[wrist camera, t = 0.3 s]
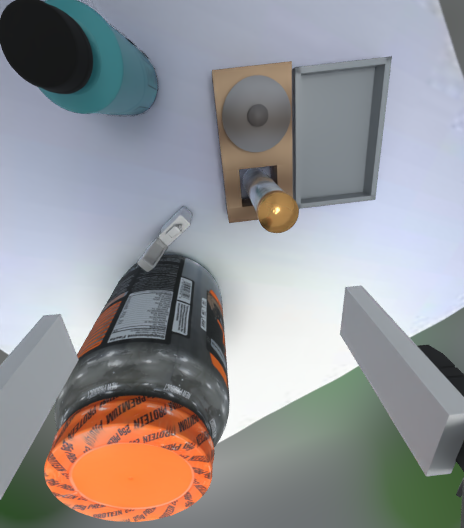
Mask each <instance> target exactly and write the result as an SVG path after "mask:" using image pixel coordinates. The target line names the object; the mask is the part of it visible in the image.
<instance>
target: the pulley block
mask: <svg viewBox="0 0 464 528" xmlns="http://www.w3.org/2000/svg"><path fill="white" fill-rule="evenodd" d="M212 80H213V89H214V98H215V107H216V116H217V125H218V134H219V142H220V151H221V160H222V169H223V178H224V187H225V196H226V205H227V214H228V220H229V223H233V222H242V221H250V220H259V219H258V217H257V212H256V210H255V208H254V206H253V204H252V202H251V200H250V198H245V199H241V187H240V176H239V170H240V169H249V168H257V167H266V166H271V179H272V180H273V181H274V182H275V183H276V184H277V185H278V186H279V187H280V188H281V189H282V190H283V191H284V192H286V193H288V194H289V195H290V196H291V197H292V198H293V162H292V61H290V62H281V63H272V64H263V65H254V66H245V67H236V68H228V69H219V70H212Z"/></svg>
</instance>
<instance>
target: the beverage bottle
mask: <svg viewBox="0 0 464 528" xmlns="http://www.w3.org/2000/svg"><path fill="white" fill-rule="evenodd" d="M110 25H111V24H110ZM110 25H109V24H108V23H107V22H106V21H105V20H104V19H103V18H102V17H101V16H100V15H99V14H98V13H97V12H96V11H95V10H94V9H92V8H91V7H89V6H88V5H86V4H84V3H82V2H79V1H77V0H46V1H44V2H43V1H41V0H15V1H13V2H12V3H10V4H9V5H8V6H7V7H6V8H5V10H4V11H3V13H2V15H1V18H0V44H1V47H2V50H3V53H4V55H5V57H6V59H7V61H8V62H9V64H10V65H11V66H12V68H13V69H14V70H15V71H16V72H17V73H18V74H19V75H20V76H21V77H22V78H23V79H25V80H26V81H28V82H29V83H31V84H33V85H35V86H37V87H38V88H39V89H40V90H41V91H42V92H43V93H44V95H45V96H46V97H48V98H49V99H50V100H51V101H52V102H54V103H55V104H56V105H58V106H60V107H61V108H63V109H66V110H68V111H71V112H75V113H81V114H91V113H96V114H97V113H101V114H111V115H114V116H115V115H118V116H119V115H122V116H123V115H135V114H138V115H139V114H140V113H141V114H144V113H142V112H144V111H146V110H147V109H150V108H149V107H150V106H151V105H152V103H153V102H154V100H155V97H156V93H157V91H158V90H157V81H158V80H157V78H156V77H157V76H156V74H155V71H154V69H155V68H154V69H153V66H152V65H151V63H150V61H149V60H148V59H149V58H148V57H147V56H146V55H145V54H144V53H143V52H142V51H141V52H142V53H143V54H142V53H141V52H140V51H139V50H138V49H137V48H138V47H137V46H135V44H134V43H132V42H131V41H130V39H129V40H128V39H127V38H125V37H124V36H122V35H121V34H120V33H119V32H118V31H117V29H116V30H115V29H114V28H112V27H111V26H110ZM115 28H116V27H115ZM122 34H123V33H122ZM124 35H125V34H124ZM126 37H127V36H126ZM136 47H137V48H136ZM139 49H140V48H139ZM140 50H141V49H140ZM145 56H146V57H147V58H148V59H147V58H146V57H145ZM99 115H100V114H99ZM107 116H108V115H107ZM111 117H112V116H111Z"/></svg>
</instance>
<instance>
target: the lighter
mask: <svg viewBox="0 0 464 528" xmlns="http://www.w3.org/2000/svg"><path fill="white" fill-rule="evenodd" d="M191 219H192V213H191V212H190V211H189V210H188V209H187V208H186V207H185V206H183V207H182V208H181V209H180V210H179V211H178V212H177V213H176V214H174V215H173V216H172V217H171V218H170V219H169V220H168V221H167V222H166V223H165V224H164V226H163V228H162V230H161V232H160V234H159V238H156V239H155V240H154V241H153V242H152V243H151V244H150V245H149V247H148V248H147V249H146V251H145V252H144V253H143V255H142V256H141V258H140V259H139V260H138V262H137V264H138V265H139V266H140V267H141V268H143V269H144V270H145V271H146V272H149V271H150V270H152V269H153V268H154V267H155V266H156V264H157V263H158V261H159V260H160V258H161V257H162V255H163V254H164V252H165V251H166V249H167V248H168V246H169V245H170V244H171V243H172V242H173V241H174V240H176V239H177V238H178V237H179V236H180V235H181V234H182V233H183V232H184V231H185V230H186V229H187V228H188V227H189V226H190V224H191Z"/></svg>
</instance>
